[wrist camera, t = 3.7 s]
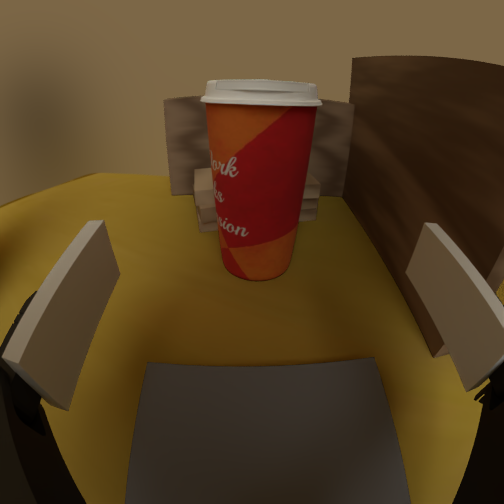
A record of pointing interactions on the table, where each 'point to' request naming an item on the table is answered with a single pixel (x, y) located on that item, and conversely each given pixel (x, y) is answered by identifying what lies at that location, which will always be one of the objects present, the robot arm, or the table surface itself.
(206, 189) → the offcut stack
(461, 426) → the table surface
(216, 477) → the rubber mat
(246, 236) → the paper cup
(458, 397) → the table surface
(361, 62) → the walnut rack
